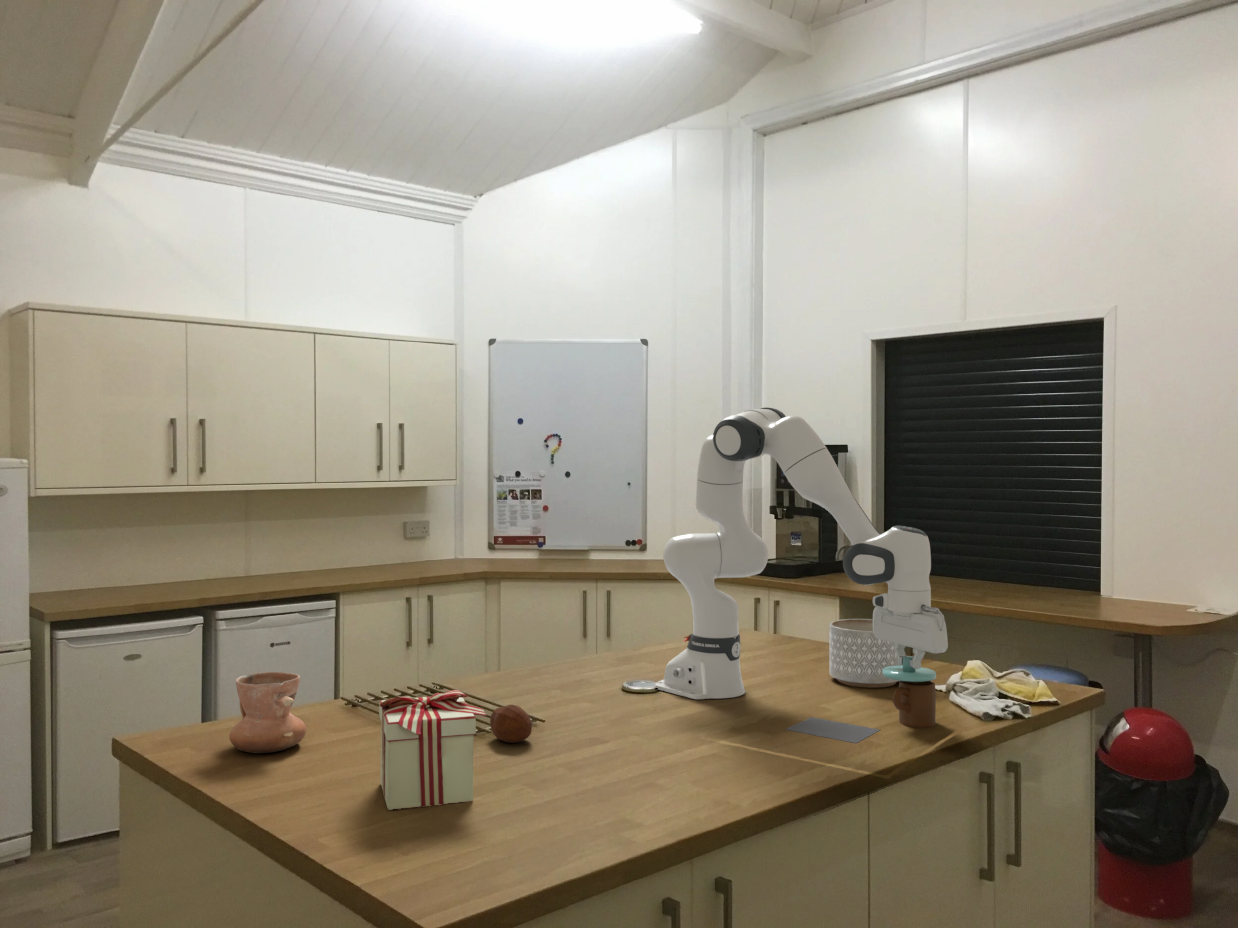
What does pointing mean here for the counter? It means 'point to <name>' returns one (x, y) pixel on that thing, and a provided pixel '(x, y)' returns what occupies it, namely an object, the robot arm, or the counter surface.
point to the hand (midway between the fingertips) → (909, 666)
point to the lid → (909, 672)
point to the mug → (916, 703)
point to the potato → (510, 724)
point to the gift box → (427, 749)
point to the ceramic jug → (267, 713)
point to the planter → (859, 654)
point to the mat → (833, 730)
